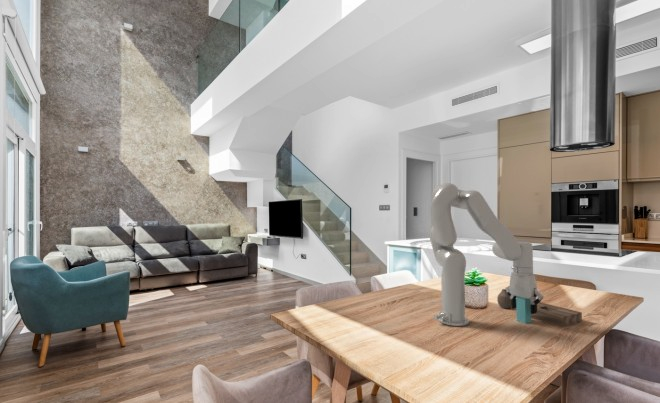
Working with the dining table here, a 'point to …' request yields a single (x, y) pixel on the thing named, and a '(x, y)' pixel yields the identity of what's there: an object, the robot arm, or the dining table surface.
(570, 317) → the socket block
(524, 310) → the peg
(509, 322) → the dining table surface
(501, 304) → the vase
